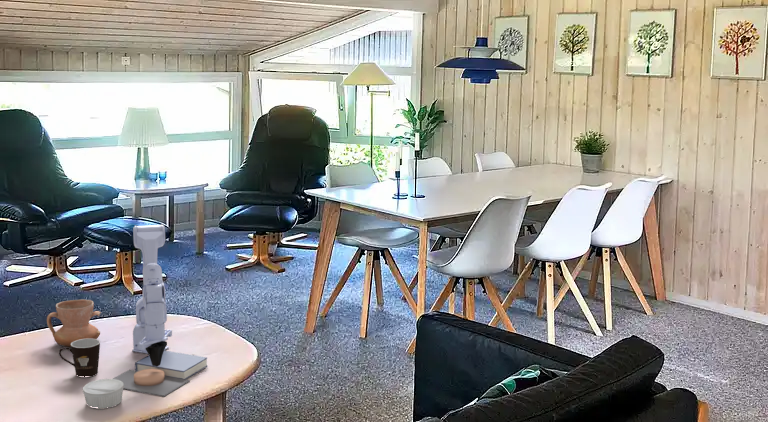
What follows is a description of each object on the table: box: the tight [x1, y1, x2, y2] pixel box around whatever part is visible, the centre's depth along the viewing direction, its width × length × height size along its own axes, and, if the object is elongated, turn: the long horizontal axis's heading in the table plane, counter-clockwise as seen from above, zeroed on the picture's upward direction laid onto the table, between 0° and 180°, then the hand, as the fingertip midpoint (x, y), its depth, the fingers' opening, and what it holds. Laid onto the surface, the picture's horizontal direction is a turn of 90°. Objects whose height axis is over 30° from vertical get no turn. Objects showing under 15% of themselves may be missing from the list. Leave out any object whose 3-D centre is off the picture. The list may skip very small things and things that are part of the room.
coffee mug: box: [58, 338, 101, 377], centre depth 269 cm, size 12×9×10 cm
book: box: [134, 350, 208, 380], centre depth 274 cm, size 18×13×3 cm
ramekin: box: [82, 378, 124, 408], centre depth 247 cm, size 11×11×5 cm
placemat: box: [112, 369, 190, 397], centre depth 262 cm, size 22×13×1 cm, turn 69°
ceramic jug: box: [46, 299, 102, 348], centre depth 295 cm, size 18×14×14 cm
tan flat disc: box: [134, 369, 165, 386], centre depth 263 cm, size 9×9×2 cm
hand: (156, 365), depth 266 cm, fingers closed
